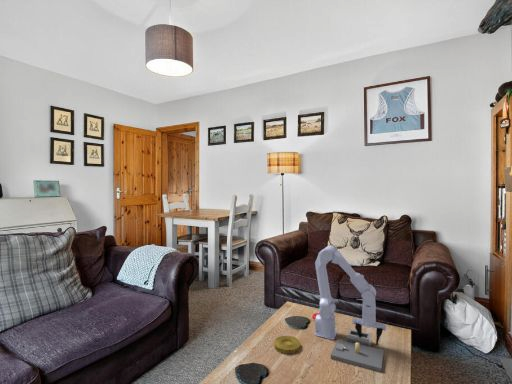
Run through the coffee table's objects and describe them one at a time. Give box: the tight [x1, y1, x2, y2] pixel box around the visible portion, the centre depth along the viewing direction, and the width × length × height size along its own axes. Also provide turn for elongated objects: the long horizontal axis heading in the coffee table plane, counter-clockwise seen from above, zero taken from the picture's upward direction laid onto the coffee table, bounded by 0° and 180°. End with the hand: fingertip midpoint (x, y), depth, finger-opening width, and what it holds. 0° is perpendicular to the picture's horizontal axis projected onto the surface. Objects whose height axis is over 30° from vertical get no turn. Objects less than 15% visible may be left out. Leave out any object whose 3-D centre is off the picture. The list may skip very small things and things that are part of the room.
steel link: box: [346, 328, 372, 347], centre depth 136 cm, size 10×6×4 cm, turn 62°
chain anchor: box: [336, 343, 348, 351], centre depth 128 cm, size 5×4×1 cm
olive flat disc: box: [273, 335, 301, 355], centre depth 133 cm, size 12×12×2 cm
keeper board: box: [330, 338, 385, 373], centre depth 125 cm, size 20×14×6 cm
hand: (368, 341), depth 133 cm, fingers open, 6 cm apart
